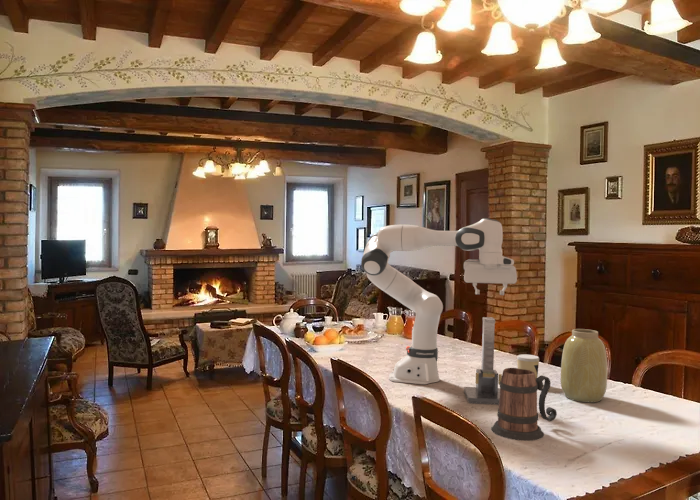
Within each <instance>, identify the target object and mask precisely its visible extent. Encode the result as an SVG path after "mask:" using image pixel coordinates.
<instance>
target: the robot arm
mask: <svg viewBox="0 0 700 500" xmlns="http://www.w3.org/2000/svg"><path fill="white" fill-rule="evenodd" d="M503 234H504V233H503V225H502V223H501V221H499V220H497V219H492V218H487V217H484V218H481V219H480V220H479V221H477V222H474V223H473V224H470V225H467V226H464V227H461V228H460V229H459V230H436V229H431V228H428V227H427V228H426V227H424V226H420V225H416V224H400V223H399V224H391V225H385V226H382V227H380V228H379V230H378V232H375V233H373V234H372V235H371V236H370V238H369V239H368V241H367V243H366V245H365V248H364V249H363V250H364V251H363V254H362V258H361V262H360V263H361V269H362V271H364V273H366V277H367V279H368V280H369V281H370V282H371V283H372V284H373V285H374V286H375V287H377V288H378V289H380V290H381V291H383V293H385V294H387V295H388V296H390V297H391V298H393V299H395V300H396V301H397V302H399V303H400V304H402V305H403V306H404V307H406V308H408V310H409V309H410V311H412V312H413V313H415V318H414V322H413V327H412V330H411V346H410V345H407V346H406V347H405V350H406V355H405V356H403V357H402V358H401V359H400V360H398V361H397V362H396V363H395V365H394V368H393V371H392V372H390V373H389V374H388V380H390V381H391V382H396V383H406V384H415V385H428V384H432V383H437V382H440V380H441V379H440V375H439V369H438V368H439V367H438V360H439V359H438V358H439V351H438V350H439V349H438V347H437V346H438V327H439V324H440V319H441V314H442V313H443V309H444V305H443V302H442V300H441V299H440V297H439V296H438V295H437V294H434V293H432V292H430V291H427V290H426V289H424V288H423V287H421V286H420V285H419V284H417V283H416V282H414V281H413V280H412V279H411V278H409V277H408V276H406V275H405V274H403V273H402V272H400V271H399V270H398V269H396V268H395V267H393V266H391V265H390V263H389V261H390V260H389V259H390V257H391V253H392V252H414V251H420V250H424V249H426V248H431V247H437V246H442V247H445V246H447V247H450V246H452V247H458V248H460V249H461V250H463V251H468V252H469V251H470V252H472V251H476V250H479V252H478V256H479V257H478V259H471V258H469V259H467V260H465V261H464V262H463V270H464V274H463V276H464V277H463V280H464V283H467V284H468V283H470V284H472V286H473V287H474V288H473V289H474V290H475V292H474V294H475V295H480V291H481V290H480V289H478V288H477V286H478V284H502V289H500V290H499V296H505V291H506V289H507V287H508V284H510V285H513V284H514V285H515V284H516V283H517V282H518V280H517V279H518V275H517V268H516V266H515V265H514V264H515V260H514V259H513V258H510V257H508V256H506V255H505V256H504V255H503V249H502V244H503V239H504V238H503V237H504V236H503Z"/></svg>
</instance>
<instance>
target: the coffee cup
mask: <svg viewBox="0 0 700 500" xmlns="http://www.w3.org/2000/svg"><path fill="white" fill-rule="evenodd" d="M516 362H517V363H516V364H517V367H516V368H518V369H525V370H530V371H533V372H534V373H535V377H536V379H537V378H538V377H539V375H538V374H539V366H540V363H539V362H540V357H539V356H537V355H534V354H524V353H523V354H518V355H517V357H516Z"/></svg>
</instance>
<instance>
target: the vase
mask: <svg viewBox="0 0 700 500" xmlns="http://www.w3.org/2000/svg"><path fill="white" fill-rule="evenodd" d="M607 357H608V356H607V351H606V346H605V344H604V342H603V340H602V339H600V338H599V331H597V330H593V329H585V328H574V329H572V330H571V335H570V336H569V337H568V338H566V340H565V343H564V345H563V349H562V354H561V361H560V362H561V363H560V387H561V390H562V393H563V394H564V396H565V397H566V398H568V399H569V400H572V401H576V402H582V403H597V402H600V401H602V399H603V398H604V397H605V394H606V393H607V385H608V360H607V359H608V358H607Z"/></svg>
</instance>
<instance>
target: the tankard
mask: <svg viewBox="0 0 700 500" xmlns="http://www.w3.org/2000/svg"><path fill="white" fill-rule="evenodd" d="M501 374H502V378H501V381H500V385H499V388H500V398H499V405H498V408H497V420H496V421H495V422H494V424H492V425H491V427H490V430H491V432H492V433H494V434H495V435H497V436H499V437H501V438H505V439H508V440H514V441H521V442H522V441H525V442H527V441H528V442H530V441H536V440H537V441H538V440H541V439H543V438H544V436H545V433H544V431H543V430H542V428H541V426H539V425H538V424H539V423H538V421H539V414H540V417H541V418H542V419H543V420H546V421H548V422H553V421H555V420H556V418H557V414H558V412H557V409H555V408H552V407H550V406H548V407H545V405H546V404H545V403H546V398H547V395H548V393H549V390H550V388H551V379H550V378H549V377H547V376H546V375H538V376H537V379H536V377H535V373H534V372H533V371H530V370H525V369H518V367H507V368H505V369H503V370H502V373H501ZM538 391H540V393H539V397H538ZM545 408H546V409H545ZM538 410H539V412H538Z"/></svg>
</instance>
